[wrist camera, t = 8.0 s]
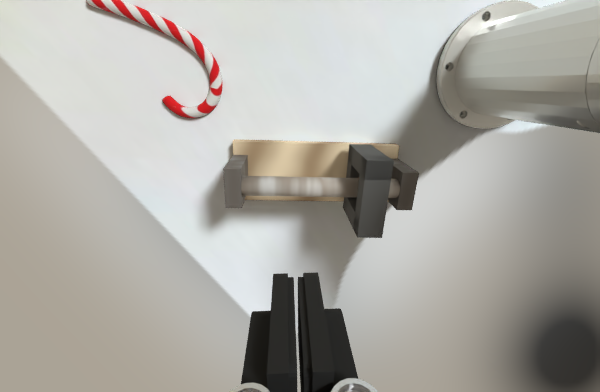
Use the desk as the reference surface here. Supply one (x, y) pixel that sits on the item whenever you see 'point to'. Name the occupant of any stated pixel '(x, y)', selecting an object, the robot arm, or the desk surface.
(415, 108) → the desk surface
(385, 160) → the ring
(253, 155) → the rail fixture
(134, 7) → the candy cane
